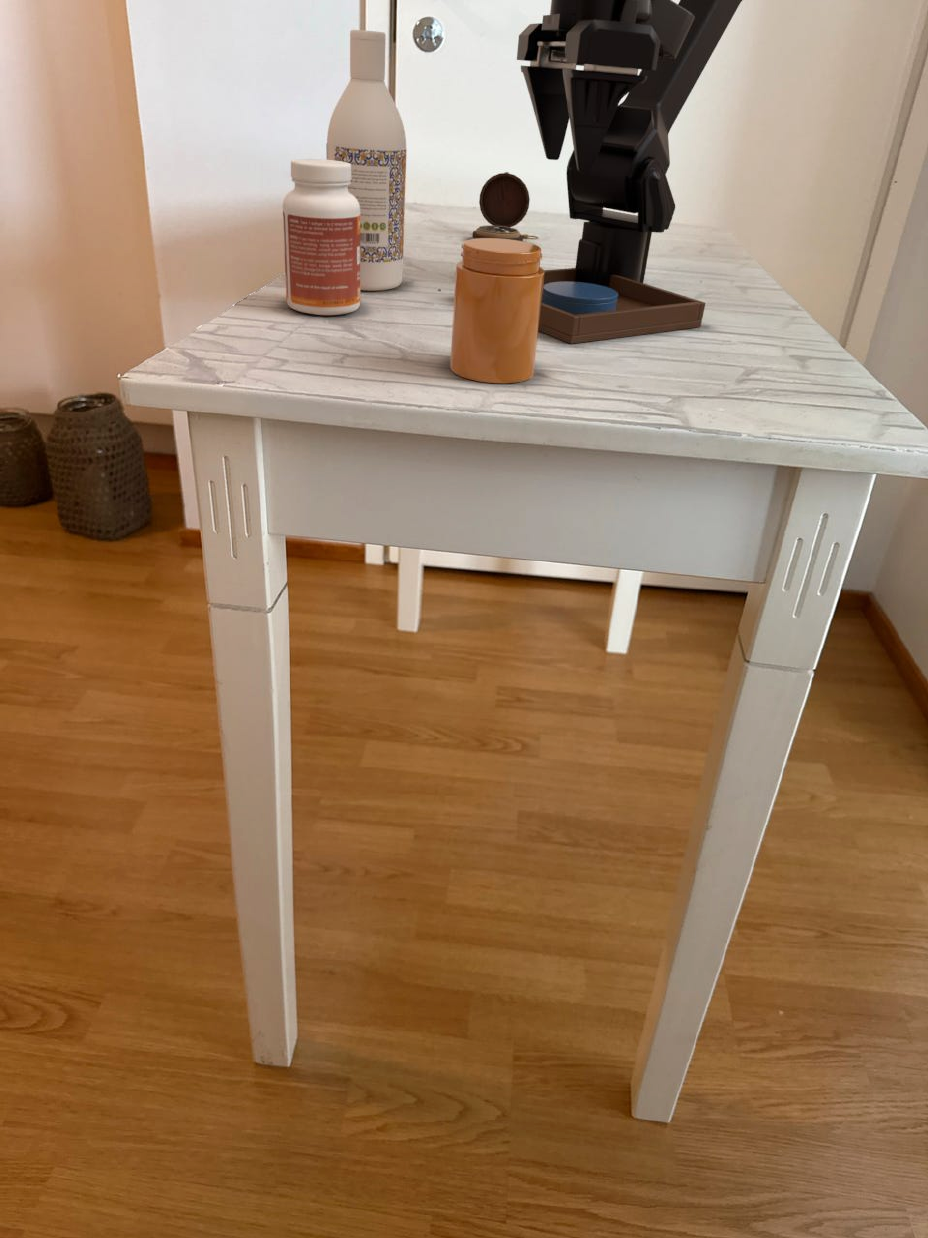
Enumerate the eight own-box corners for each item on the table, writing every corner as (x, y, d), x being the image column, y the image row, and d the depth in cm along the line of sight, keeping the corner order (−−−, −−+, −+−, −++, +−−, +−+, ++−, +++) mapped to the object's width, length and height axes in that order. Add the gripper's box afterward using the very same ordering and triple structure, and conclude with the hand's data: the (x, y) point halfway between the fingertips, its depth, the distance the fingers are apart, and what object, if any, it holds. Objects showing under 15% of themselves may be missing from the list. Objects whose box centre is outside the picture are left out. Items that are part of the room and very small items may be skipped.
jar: (493, 353, 68) (503, 234, 63) (550, 375, 64) (566, 250, 59) (432, 365, 64) (439, 239, 60) (490, 388, 60) (501, 256, 56)
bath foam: (413, 290, 83) (423, 34, 73) (343, 293, 80) (342, 27, 70) (386, 274, 88) (391, 33, 78) (318, 276, 86) (314, 26, 75)
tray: (587, 288, 89) (590, 266, 88) (701, 326, 79) (706, 302, 78) (462, 299, 82) (464, 275, 80) (570, 343, 71) (574, 317, 70)
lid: (554, 297, 82) (556, 277, 82) (623, 308, 81) (626, 288, 80) (531, 311, 77) (533, 290, 76) (604, 323, 75) (607, 302, 74)
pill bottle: (373, 313, 75) (375, 166, 69) (306, 319, 72) (302, 166, 66) (339, 296, 79) (338, 156, 73) (274, 301, 76) (268, 156, 70)
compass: (468, 243, 106) (473, 175, 102) (478, 233, 113) (482, 168, 109) (535, 250, 105) (542, 182, 101) (541, 239, 112) (548, 175, 108)
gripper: (747, -62, 62) (699, 184, 71) (648, -41, 78) (618, 159, 86) (596, -82, 60) (565, 176, 68) (525, -56, 75) (506, 151, 84)
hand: (567, 164), depth 77 cm, fingers open, 9 cm apart
